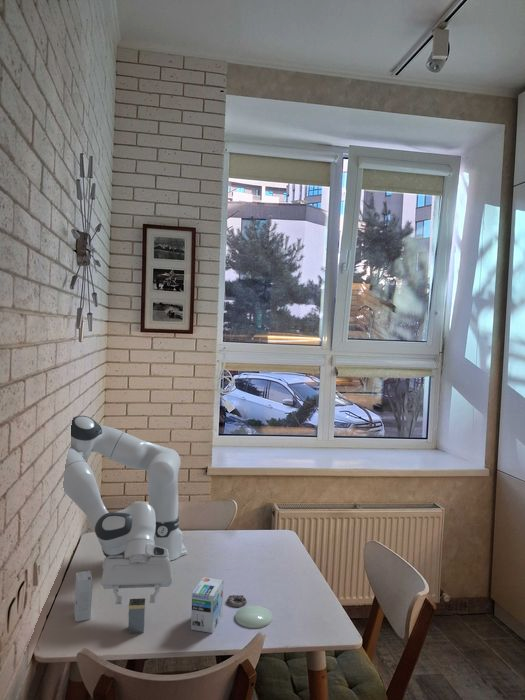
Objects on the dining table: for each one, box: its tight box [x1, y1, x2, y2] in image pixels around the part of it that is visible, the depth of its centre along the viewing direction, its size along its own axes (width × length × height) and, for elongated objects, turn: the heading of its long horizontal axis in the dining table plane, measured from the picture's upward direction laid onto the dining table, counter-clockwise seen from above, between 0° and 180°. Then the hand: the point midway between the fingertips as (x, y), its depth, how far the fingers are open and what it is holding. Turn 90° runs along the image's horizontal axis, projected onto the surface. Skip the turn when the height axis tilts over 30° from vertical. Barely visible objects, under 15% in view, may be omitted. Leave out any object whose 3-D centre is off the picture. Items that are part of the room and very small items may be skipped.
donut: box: [226, 594, 248, 608], centre depth 167 cm, size 8×8×2 cm
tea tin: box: [127, 597, 146, 635], centre depth 150 cm, size 4×4×8 cm
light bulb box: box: [190, 576, 224, 634], centre depth 155 cm, size 11×7×11 cm, turn 168°
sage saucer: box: [235, 605, 273, 629], centre depth 158 cm, size 11×11×1 cm
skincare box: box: [73, 570, 94, 622], centre depth 156 cm, size 6×4×12 cm
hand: (135, 602), depth 151 cm, fingers open, 8 cm apart
